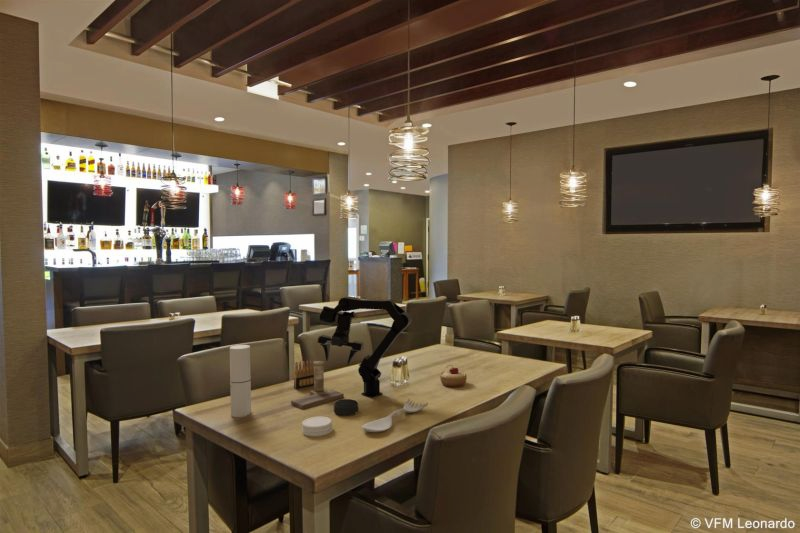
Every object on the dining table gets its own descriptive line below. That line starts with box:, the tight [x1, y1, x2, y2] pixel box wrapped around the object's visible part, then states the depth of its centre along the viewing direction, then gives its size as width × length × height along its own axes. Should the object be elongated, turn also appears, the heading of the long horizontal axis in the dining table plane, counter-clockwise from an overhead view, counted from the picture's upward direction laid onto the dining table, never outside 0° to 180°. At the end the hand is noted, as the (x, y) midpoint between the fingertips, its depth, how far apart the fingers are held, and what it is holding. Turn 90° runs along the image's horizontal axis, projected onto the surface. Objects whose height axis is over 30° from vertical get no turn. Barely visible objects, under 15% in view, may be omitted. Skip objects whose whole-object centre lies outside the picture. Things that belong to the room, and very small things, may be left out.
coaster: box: [301, 416, 333, 437], centre depth 160 cm, size 10×10×4 cm
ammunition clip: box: [293, 358, 316, 390], centre depth 210 cm, size 11×2×12 cm, turn 129°
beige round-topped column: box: [309, 360, 329, 396], centre depth 198 cm, size 5×6×14 cm
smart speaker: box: [333, 398, 359, 417], centre depth 177 cm, size 9×9×4 cm
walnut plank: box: [290, 389, 345, 410], centre depth 190 cm, size 8×20×2 cm, turn 135°
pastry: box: [439, 364, 468, 388], centre depth 213 cm, size 12×12×9 cm
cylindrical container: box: [229, 344, 252, 418], centre depth 176 cm, size 7×7×25 cm
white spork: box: [361, 398, 429, 433], centre depth 169 cm, size 9×32×4 cm, turn 146°
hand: (337, 362), depth 200 cm, fingers open, 9 cm apart
